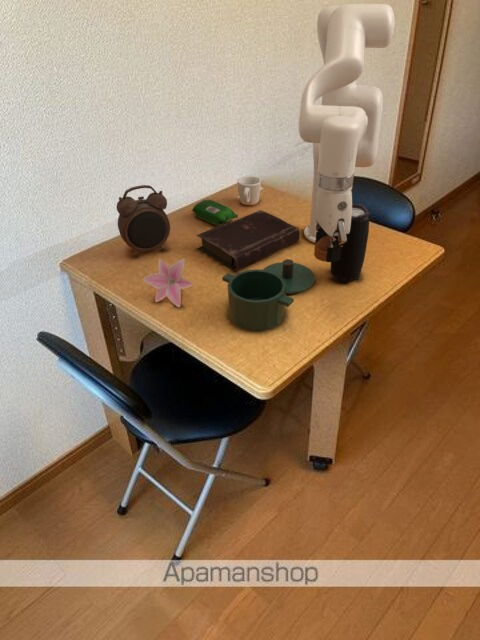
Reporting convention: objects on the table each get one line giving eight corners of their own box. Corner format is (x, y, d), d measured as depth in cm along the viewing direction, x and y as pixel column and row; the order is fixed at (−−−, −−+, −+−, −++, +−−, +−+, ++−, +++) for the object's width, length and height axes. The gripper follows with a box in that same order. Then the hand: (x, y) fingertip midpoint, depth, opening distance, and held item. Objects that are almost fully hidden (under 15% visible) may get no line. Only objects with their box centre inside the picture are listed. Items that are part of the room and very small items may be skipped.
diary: (300, 243, 149) (301, 228, 146) (237, 273, 136) (236, 258, 133) (258, 222, 160) (258, 207, 157) (196, 248, 148) (195, 233, 144)
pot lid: (278, 260, 142) (279, 242, 138) (324, 276, 135) (326, 258, 131) (249, 283, 133) (249, 265, 129) (296, 302, 126) (297, 283, 122)
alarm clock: (127, 262, 142) (115, 197, 130) (121, 250, 147) (109, 186, 135) (175, 251, 147) (168, 187, 134) (168, 240, 152) (160, 177, 139)
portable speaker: (324, 281, 133) (331, 214, 121) (334, 264, 140) (342, 199, 128) (356, 288, 130) (366, 220, 118) (365, 270, 137) (375, 204, 125)
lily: (142, 294, 131) (133, 277, 122) (172, 263, 134) (166, 245, 126) (175, 320, 128) (168, 306, 119) (205, 289, 131) (201, 272, 122)
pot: (241, 288, 131) (241, 260, 126) (304, 313, 122) (306, 284, 117) (209, 313, 123) (207, 285, 117) (273, 342, 114) (274, 313, 108)
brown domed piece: (330, 246, 119) (332, 228, 116) (345, 258, 115) (347, 239, 112) (309, 252, 117) (310, 234, 114) (322, 264, 113) (324, 245, 110)
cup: (257, 212, 166) (257, 189, 161) (234, 210, 167) (233, 187, 162) (262, 198, 174) (262, 176, 169) (240, 196, 176) (240, 175, 171)
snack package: (223, 231, 156) (223, 216, 152) (190, 216, 164) (189, 201, 161) (239, 224, 160) (239, 209, 156) (206, 209, 168) (205, 195, 165)
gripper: (369, 194, 99) (357, 270, 110) (335, 162, 112) (327, 233, 123) (334, 198, 97) (326, 275, 108) (303, 166, 110) (299, 238, 122)
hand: (327, 252), depth 116 cm, fingers closed on brown domed piece, 6 cm apart
